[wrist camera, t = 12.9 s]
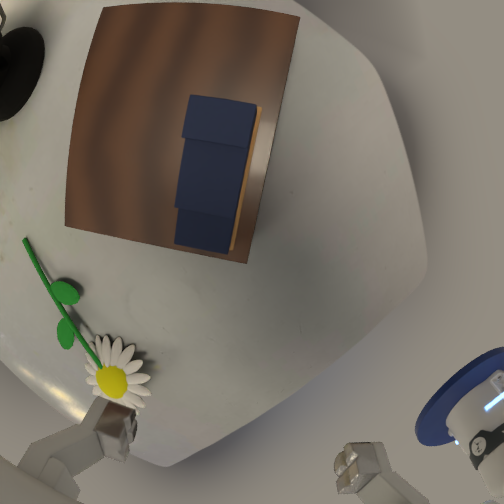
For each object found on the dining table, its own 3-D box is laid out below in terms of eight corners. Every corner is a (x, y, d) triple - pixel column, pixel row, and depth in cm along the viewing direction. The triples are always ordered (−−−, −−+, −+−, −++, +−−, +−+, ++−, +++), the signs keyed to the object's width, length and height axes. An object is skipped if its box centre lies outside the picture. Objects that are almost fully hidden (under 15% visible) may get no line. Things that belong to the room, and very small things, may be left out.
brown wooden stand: (292, 40, 25) (300, 16, 19) (249, 241, 33) (246, 264, 27) (127, 26, 24) (103, 7, 18) (94, 211, 32) (64, 226, 26)
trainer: (202, 99, 22) (186, 86, 17) (262, 109, 22) (263, 97, 17) (178, 235, 26) (159, 257, 21) (233, 246, 26) (227, 271, 21)
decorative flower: (17, 256, 37) (119, 408, 41) (-2, 263, 32) (108, 425, 36) (59, 212, 35) (174, 387, 39) (38, 215, 30) (165, 407, 35)
